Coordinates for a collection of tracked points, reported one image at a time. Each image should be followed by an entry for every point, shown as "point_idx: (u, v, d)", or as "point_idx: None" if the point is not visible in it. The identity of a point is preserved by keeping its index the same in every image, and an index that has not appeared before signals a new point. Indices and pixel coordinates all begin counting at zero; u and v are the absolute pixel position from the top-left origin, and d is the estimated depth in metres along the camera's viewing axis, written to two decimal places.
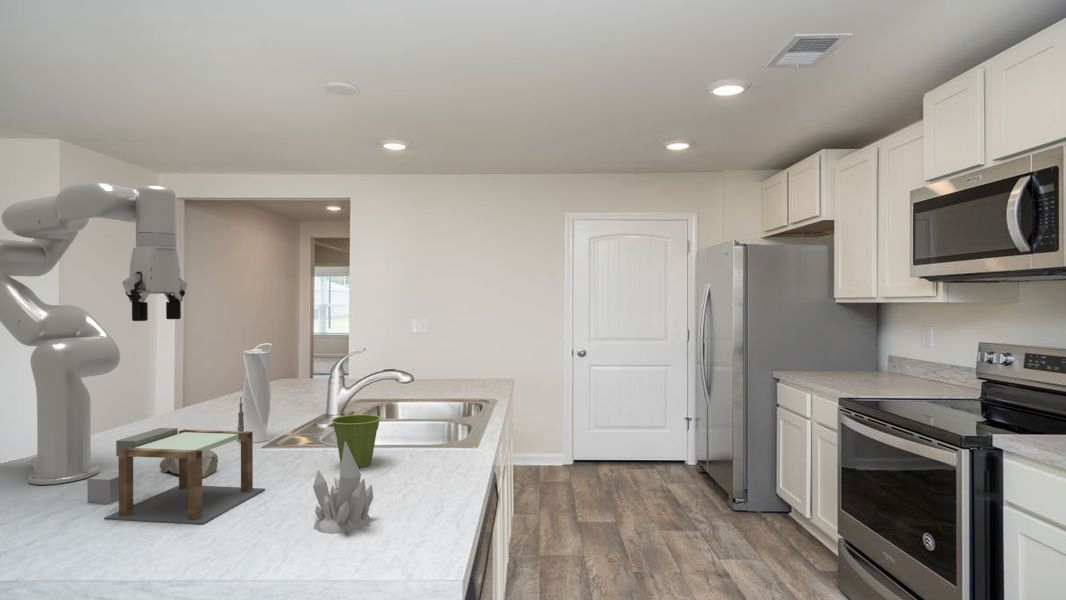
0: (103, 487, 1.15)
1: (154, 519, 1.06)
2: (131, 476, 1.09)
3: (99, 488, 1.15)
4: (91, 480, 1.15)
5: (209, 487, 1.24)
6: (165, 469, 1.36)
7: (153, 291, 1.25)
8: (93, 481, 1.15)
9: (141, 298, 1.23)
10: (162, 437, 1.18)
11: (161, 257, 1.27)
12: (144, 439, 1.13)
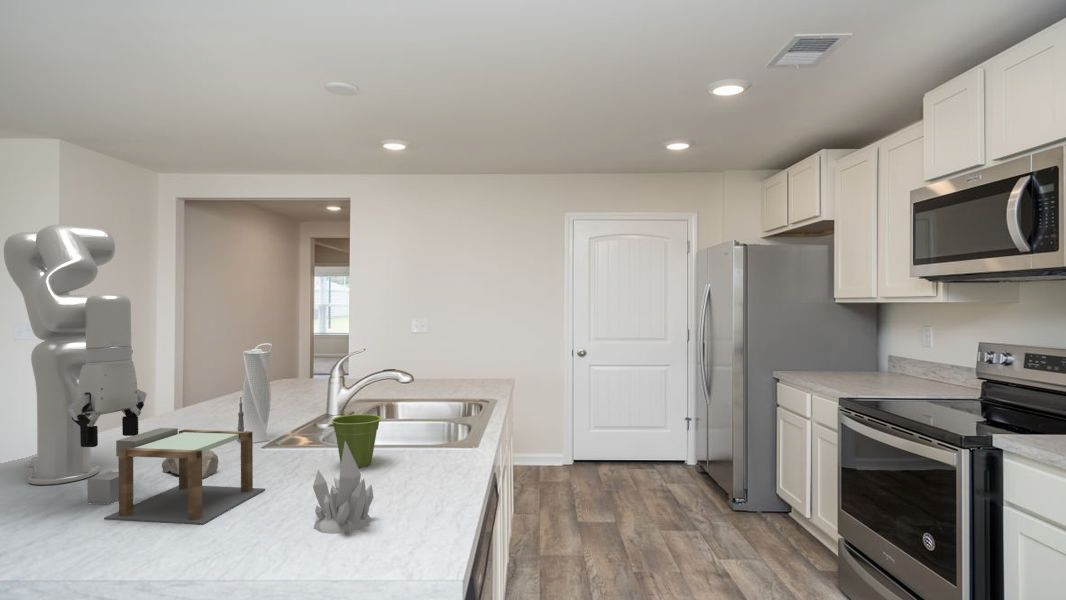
0: (103, 487, 1.15)
1: (154, 519, 1.06)
2: (131, 476, 1.09)
3: (99, 488, 1.15)
4: (91, 480, 1.15)
5: (209, 487, 1.24)
6: (166, 469, 1.36)
7: (104, 412, 1.14)
8: (93, 481, 1.15)
9: (90, 422, 1.11)
10: (162, 437, 1.18)
11: (113, 373, 1.16)
12: (144, 439, 1.13)
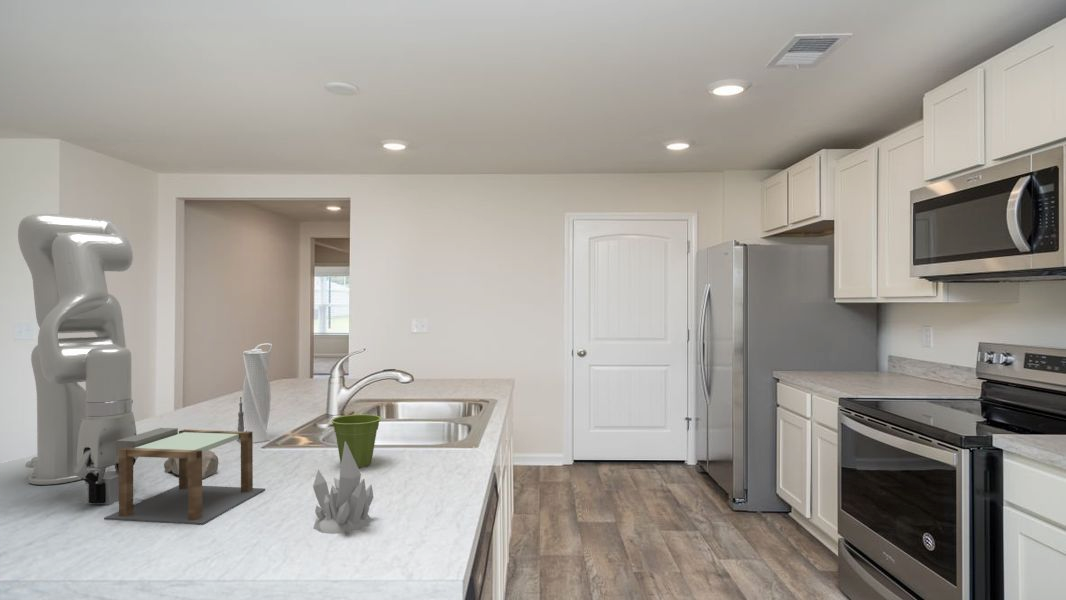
0: None
1: (154, 519, 1.06)
2: (131, 476, 1.09)
3: None
4: None
5: (209, 487, 1.24)
6: (168, 468, 1.36)
7: (103, 466, 1.14)
8: None
9: (98, 480, 1.14)
10: (162, 437, 1.18)
11: (113, 427, 1.16)
12: (144, 439, 1.13)
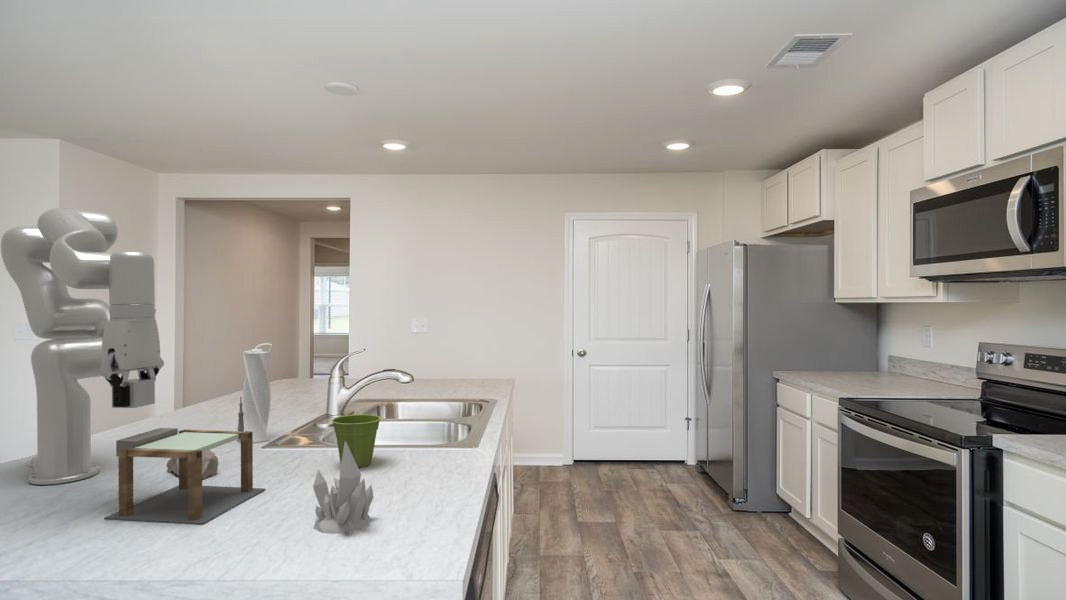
0: None
1: (154, 519, 1.06)
2: (131, 476, 1.09)
3: None
4: None
5: (209, 487, 1.24)
6: (170, 468, 1.36)
7: (128, 369, 1.13)
8: None
9: (122, 382, 1.13)
10: (162, 437, 1.18)
11: (137, 330, 1.15)
12: (144, 439, 1.13)
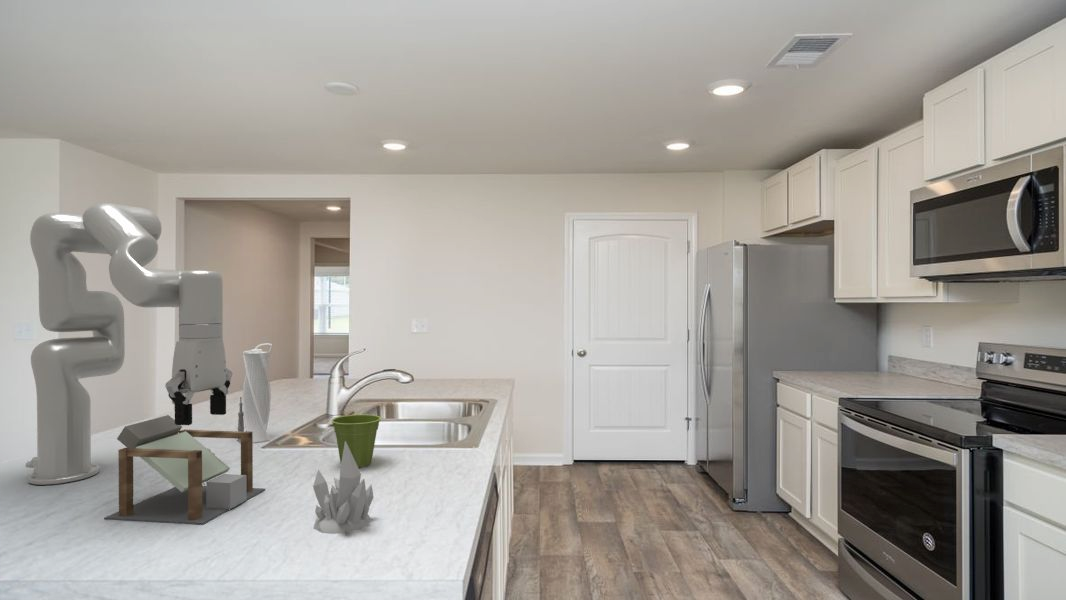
0: (222, 501, 1.12)
1: (154, 519, 1.06)
2: (131, 476, 1.09)
3: (221, 496, 1.12)
4: (229, 487, 1.11)
5: None
6: None
7: (198, 390, 1.11)
8: (227, 489, 1.11)
9: (185, 400, 1.09)
10: (165, 434, 1.17)
11: (207, 350, 1.13)
12: (149, 437, 1.13)
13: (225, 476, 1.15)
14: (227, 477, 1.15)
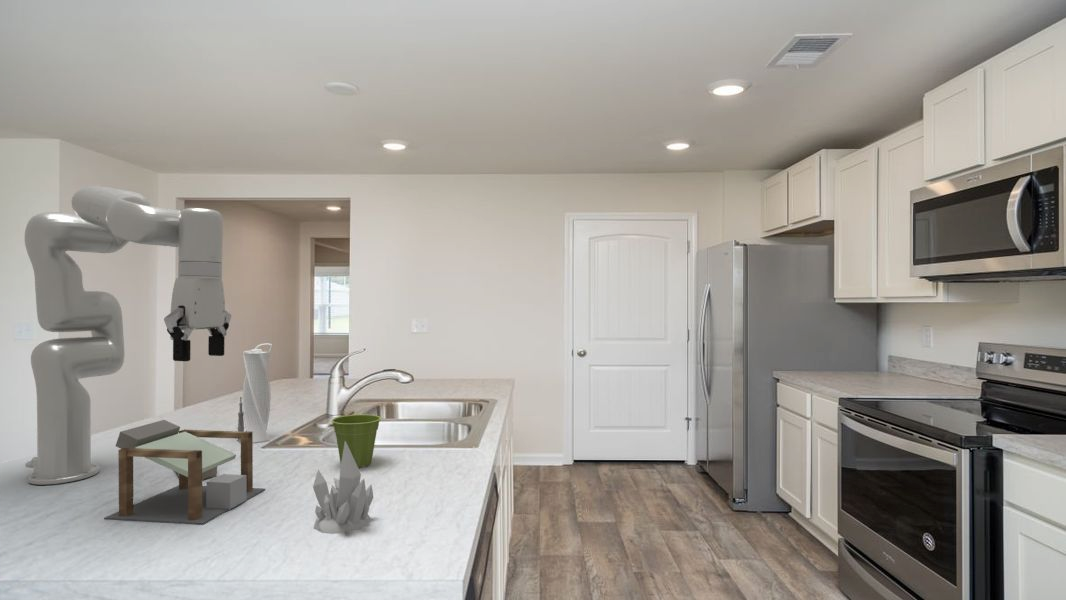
0: (222, 501, 1.12)
1: (154, 519, 1.06)
2: (131, 476, 1.09)
3: (221, 496, 1.12)
4: (229, 487, 1.11)
5: None
6: None
7: (197, 327, 1.11)
8: (227, 489, 1.11)
9: (184, 336, 1.09)
10: (163, 435, 1.17)
11: (206, 289, 1.13)
12: (146, 437, 1.13)
13: (225, 476, 1.15)
14: (227, 477, 1.15)
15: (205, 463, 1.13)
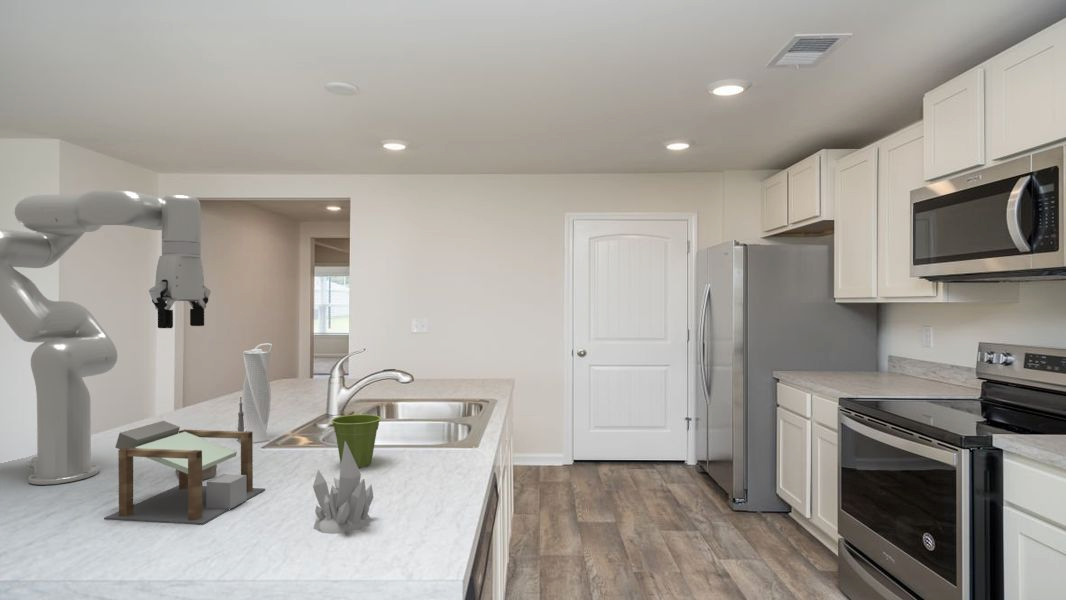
0: (222, 501, 1.12)
1: (154, 519, 1.06)
2: (131, 476, 1.09)
3: (221, 496, 1.12)
4: (229, 487, 1.11)
5: None
6: None
7: (178, 299, 1.27)
8: (227, 489, 1.11)
9: (167, 306, 1.25)
10: (163, 435, 1.17)
11: (186, 265, 1.29)
12: (146, 437, 1.13)
13: (225, 476, 1.15)
14: (227, 477, 1.15)
15: (206, 460, 1.13)
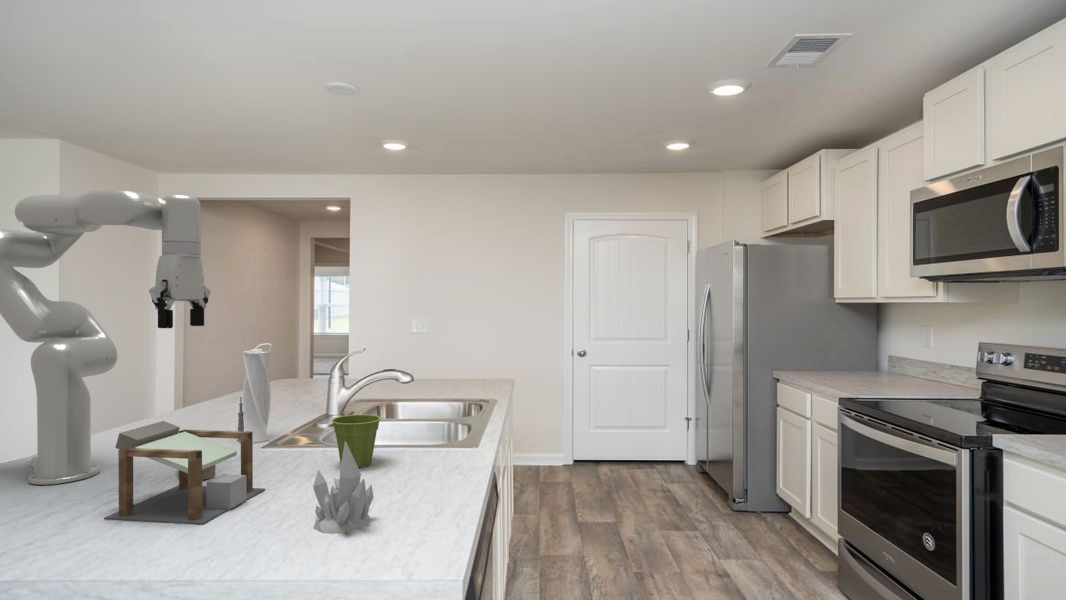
0: (222, 501, 1.12)
1: (154, 519, 1.06)
2: (131, 476, 1.09)
3: (221, 496, 1.12)
4: (229, 487, 1.11)
5: None
6: None
7: (178, 299, 1.27)
8: (227, 489, 1.11)
9: (167, 306, 1.25)
10: (163, 435, 1.17)
11: (186, 265, 1.29)
12: (146, 437, 1.13)
13: (225, 476, 1.15)
14: (227, 477, 1.15)
15: (206, 460, 1.13)
